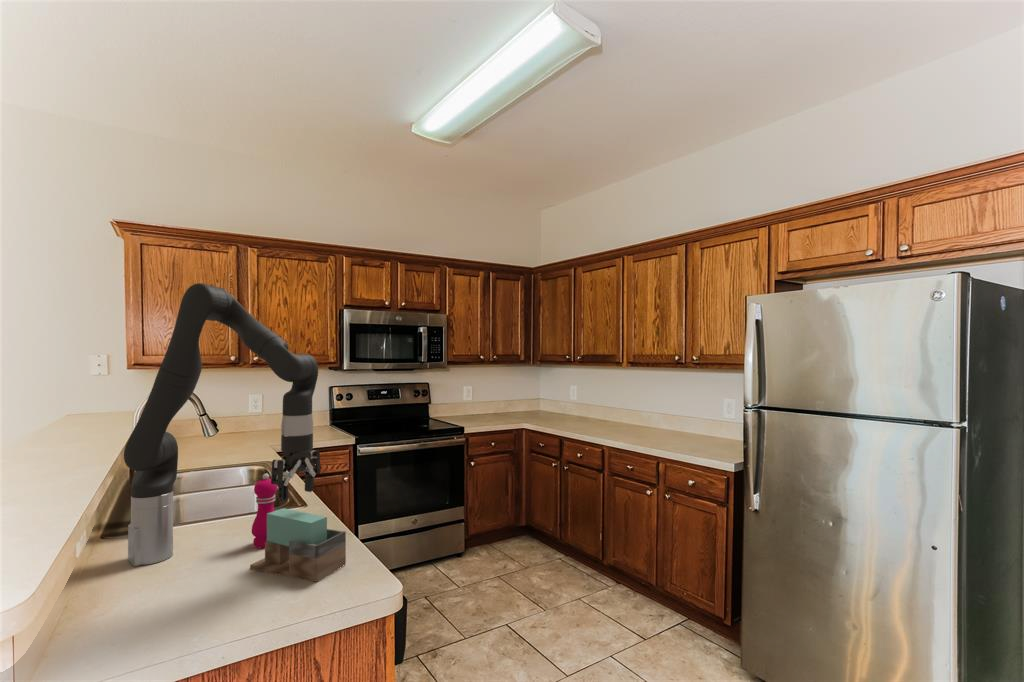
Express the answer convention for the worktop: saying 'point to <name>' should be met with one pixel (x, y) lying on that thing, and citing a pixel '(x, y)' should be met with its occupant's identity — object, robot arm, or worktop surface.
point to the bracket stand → (305, 557)
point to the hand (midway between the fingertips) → (296, 495)
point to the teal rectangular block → (296, 527)
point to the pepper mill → (263, 509)
